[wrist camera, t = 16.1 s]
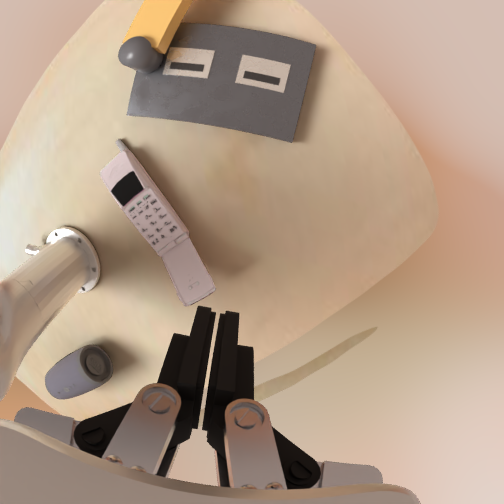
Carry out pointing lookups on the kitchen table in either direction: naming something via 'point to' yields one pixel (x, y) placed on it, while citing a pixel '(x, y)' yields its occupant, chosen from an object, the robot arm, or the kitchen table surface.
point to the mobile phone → (157, 224)
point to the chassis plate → (227, 80)
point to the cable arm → (152, 33)
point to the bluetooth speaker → (79, 372)
